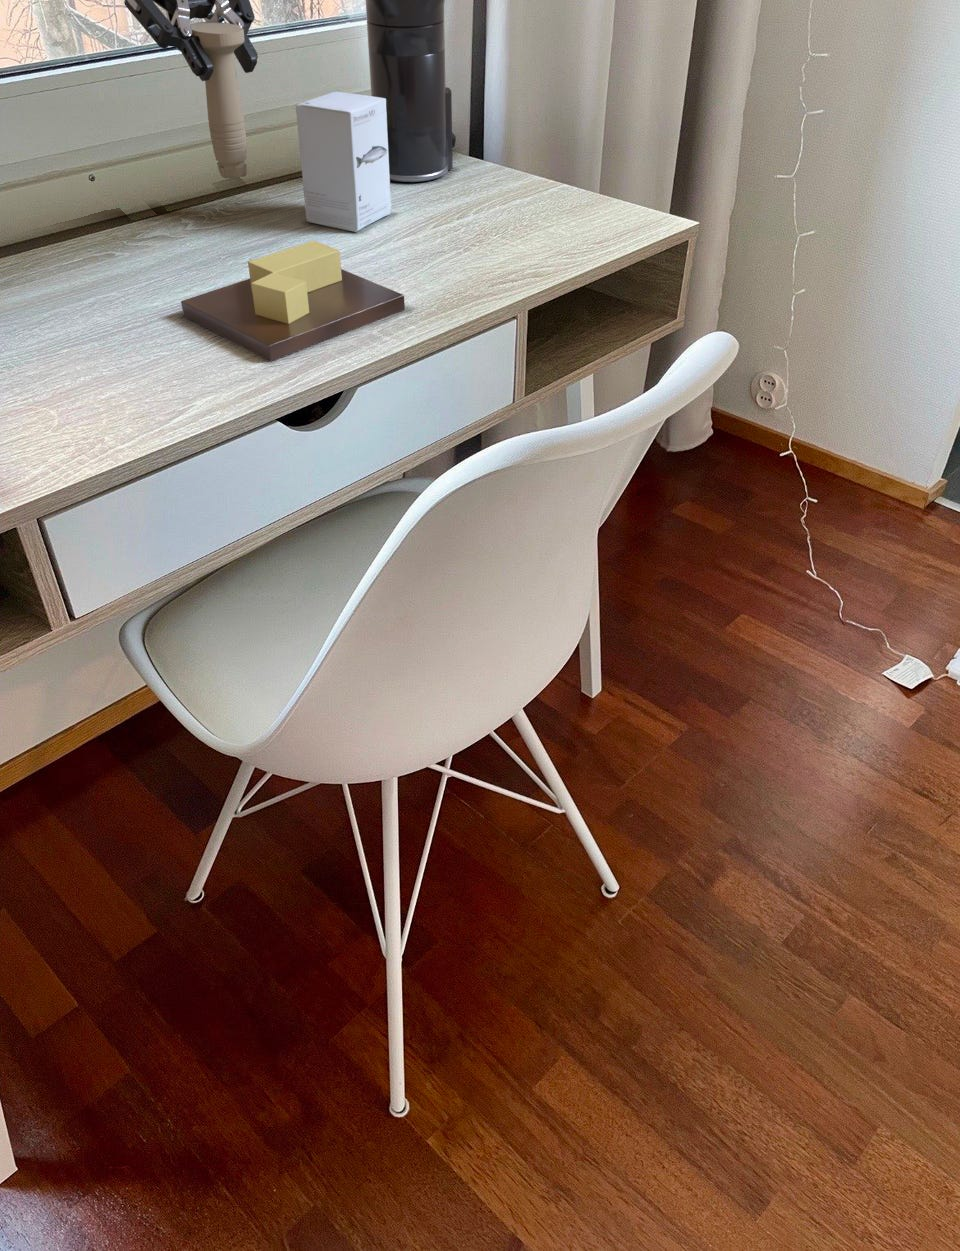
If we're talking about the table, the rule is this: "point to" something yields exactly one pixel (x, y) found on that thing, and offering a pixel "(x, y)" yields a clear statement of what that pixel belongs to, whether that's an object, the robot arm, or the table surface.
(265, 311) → the butter pat
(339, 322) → the board
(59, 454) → the table surface
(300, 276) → the butter stick
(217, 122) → the handle
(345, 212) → the white packaging box
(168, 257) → the table surface
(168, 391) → the table surface
